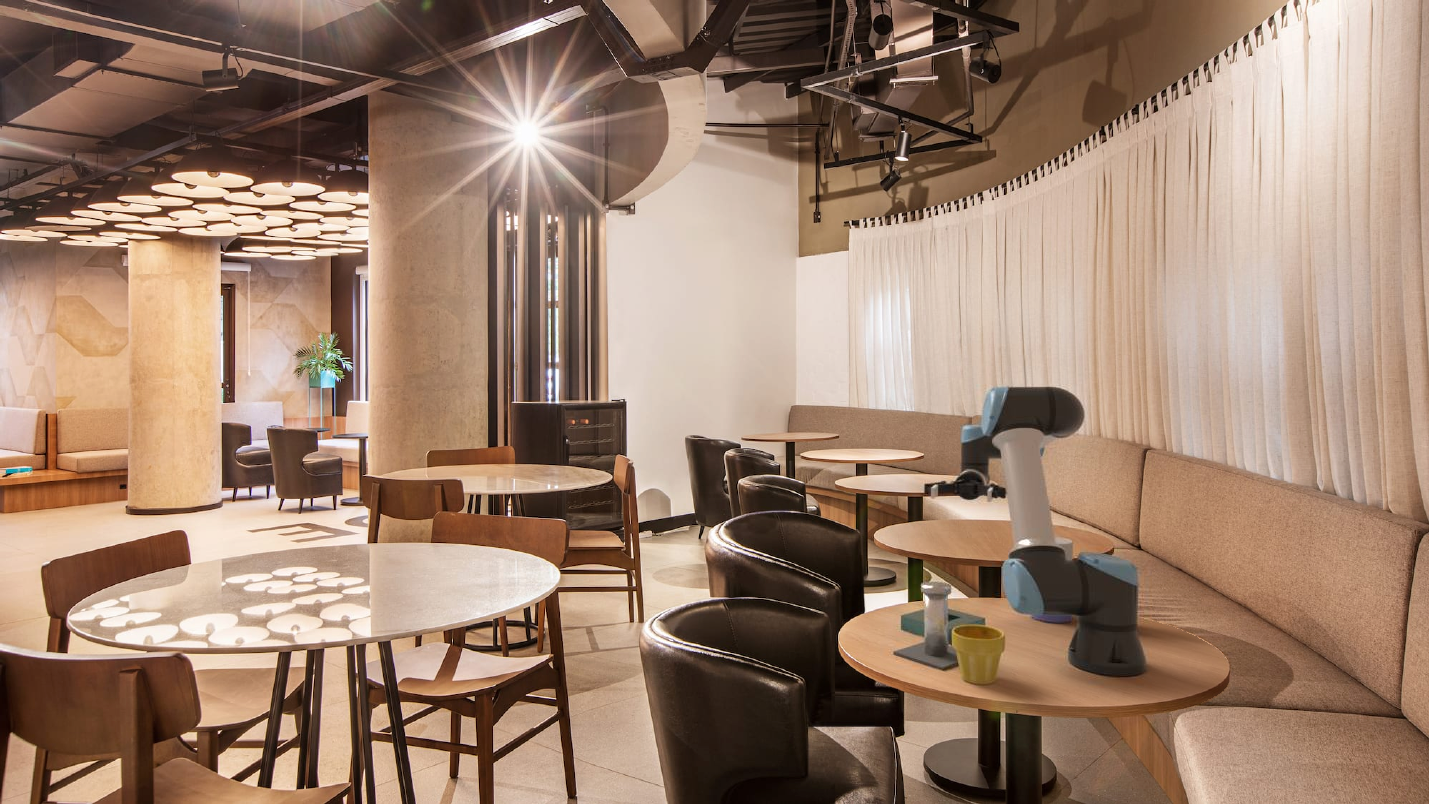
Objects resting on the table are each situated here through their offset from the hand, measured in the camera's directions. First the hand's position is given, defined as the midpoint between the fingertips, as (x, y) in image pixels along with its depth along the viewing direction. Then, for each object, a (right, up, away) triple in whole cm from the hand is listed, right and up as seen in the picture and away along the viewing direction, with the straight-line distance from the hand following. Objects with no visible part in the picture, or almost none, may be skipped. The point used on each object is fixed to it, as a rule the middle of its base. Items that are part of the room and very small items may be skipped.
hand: (960, 494), depth 212 cm
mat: (-13, -33, -25) cm, 43 cm away
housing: (-6, -32, -7) cm, 33 cm away
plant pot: (-8, -33, -39) cm, 52 cm away
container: (+24, -32, +5) cm, 40 cm away
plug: (-12, -32, -25) cm, 42 cm away
